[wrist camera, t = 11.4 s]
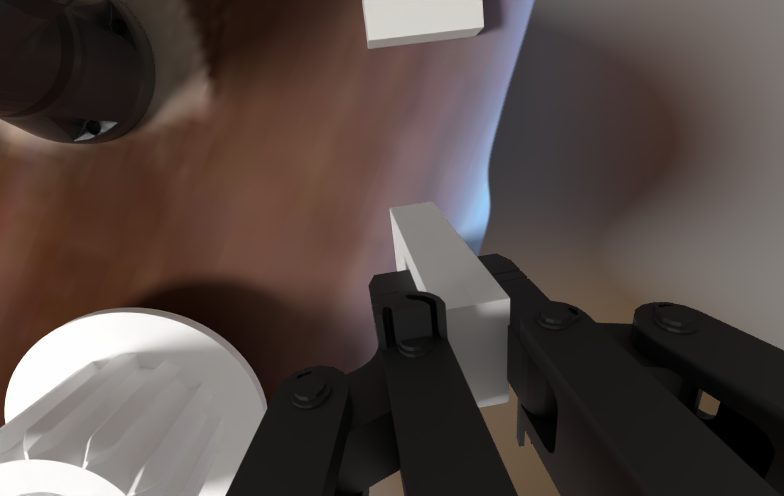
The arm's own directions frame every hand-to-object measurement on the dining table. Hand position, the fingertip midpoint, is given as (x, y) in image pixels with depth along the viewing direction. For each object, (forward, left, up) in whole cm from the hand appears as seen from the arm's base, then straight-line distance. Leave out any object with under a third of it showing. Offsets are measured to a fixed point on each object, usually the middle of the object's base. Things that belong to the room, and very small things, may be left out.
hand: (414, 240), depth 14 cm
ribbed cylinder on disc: (-14, -32, -30) cm, 46 cm away
